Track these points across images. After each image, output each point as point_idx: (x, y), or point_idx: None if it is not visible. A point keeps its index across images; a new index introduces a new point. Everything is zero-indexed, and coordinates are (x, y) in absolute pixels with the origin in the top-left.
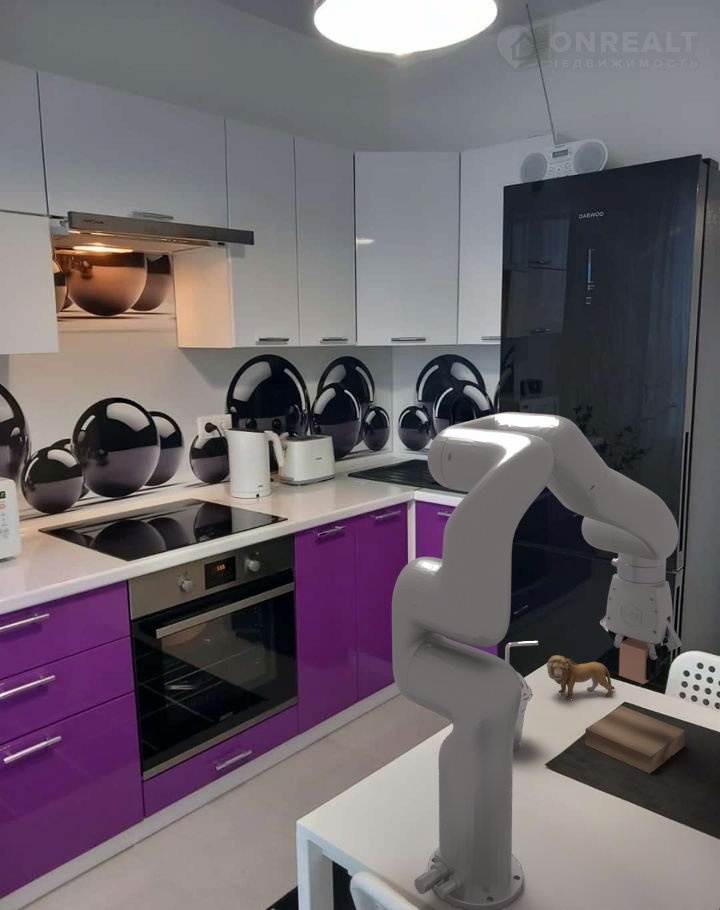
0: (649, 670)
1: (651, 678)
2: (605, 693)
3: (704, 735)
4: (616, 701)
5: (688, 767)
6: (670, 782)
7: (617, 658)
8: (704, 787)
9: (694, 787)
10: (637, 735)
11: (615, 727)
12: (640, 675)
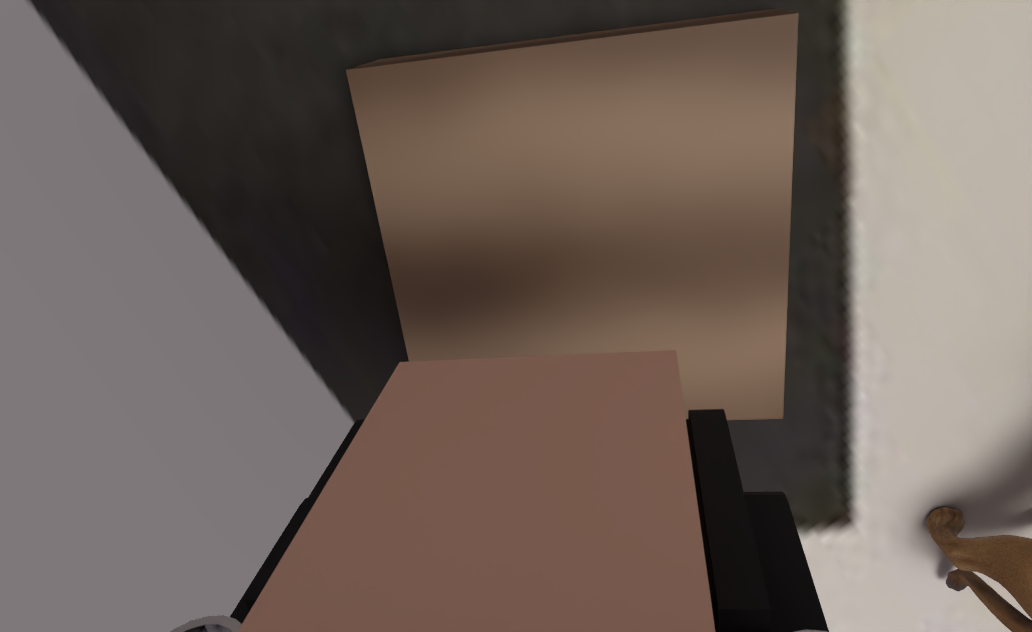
0: (317, 489)
1: None
2: (964, 522)
3: None
4: (883, 504)
5: (327, 254)
6: (283, 79)
7: (781, 520)
8: (192, 169)
9: (209, 134)
10: (532, 212)
11: (668, 188)
12: (408, 402)
